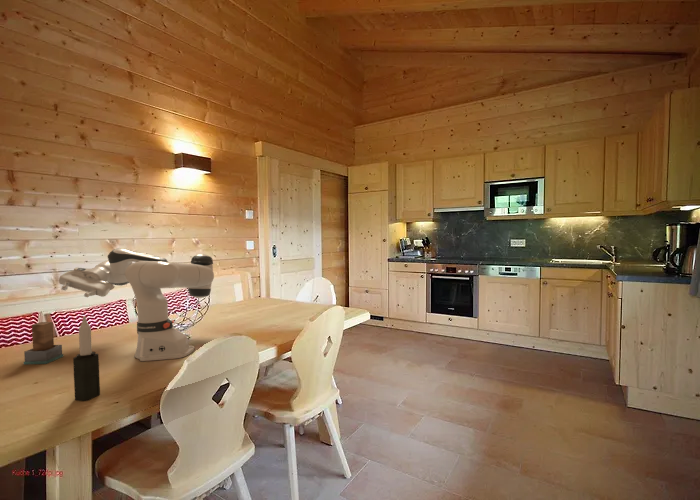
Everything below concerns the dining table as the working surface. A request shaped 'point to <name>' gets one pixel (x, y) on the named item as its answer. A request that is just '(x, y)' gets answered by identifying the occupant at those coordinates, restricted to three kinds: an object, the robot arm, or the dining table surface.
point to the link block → (42, 336)
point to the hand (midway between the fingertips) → (74, 292)
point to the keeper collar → (43, 355)
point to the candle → (86, 367)
